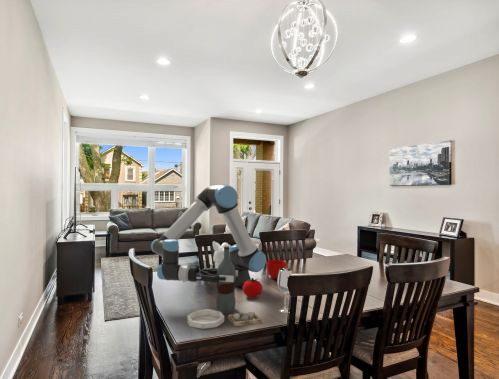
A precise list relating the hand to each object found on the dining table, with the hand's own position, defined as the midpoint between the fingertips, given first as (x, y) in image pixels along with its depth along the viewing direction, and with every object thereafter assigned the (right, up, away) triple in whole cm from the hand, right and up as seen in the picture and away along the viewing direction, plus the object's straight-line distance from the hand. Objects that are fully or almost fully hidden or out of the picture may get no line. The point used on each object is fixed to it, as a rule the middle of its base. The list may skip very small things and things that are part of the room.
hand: (235, 276), depth 158 cm
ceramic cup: (+25, -17, +58) cm, 65 cm away
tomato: (+8, -17, +21) cm, 28 cm away
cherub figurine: (-12, -16, +66) cm, 69 cm away
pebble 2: (+5, -16, -13) cm, 21 cm away
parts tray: (+4, -17, -12) cm, 21 cm away
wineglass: (+23, -17, +1) cm, 29 cm away
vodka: (-5, -17, +1) cm, 17 cm away
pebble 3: (+7, -16, -10) cm, 20 cm away
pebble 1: (+1, -16, -12) cm, 20 cm away
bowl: (-12, -17, -13) cm, 24 cm away
